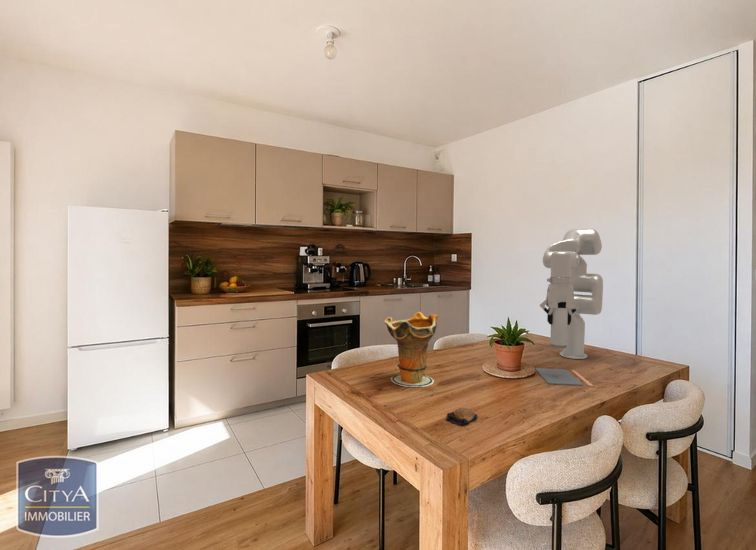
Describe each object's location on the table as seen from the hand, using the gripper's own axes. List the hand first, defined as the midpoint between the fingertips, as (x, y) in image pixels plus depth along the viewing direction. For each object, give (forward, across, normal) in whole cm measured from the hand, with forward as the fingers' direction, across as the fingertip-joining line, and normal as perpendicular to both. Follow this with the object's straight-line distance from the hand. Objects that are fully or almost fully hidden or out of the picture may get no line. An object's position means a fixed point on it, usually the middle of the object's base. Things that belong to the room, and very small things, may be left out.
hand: (559, 323), depth 161 cm
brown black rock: (+24, -43, -47) cm, 68 cm away
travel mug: (+10, 0, 0) cm, 10 cm away
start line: (+23, +10, 0) cm, 25 cm away
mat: (+23, 0, 0) cm, 23 cm away
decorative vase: (+23, -60, -13) cm, 66 cm away
